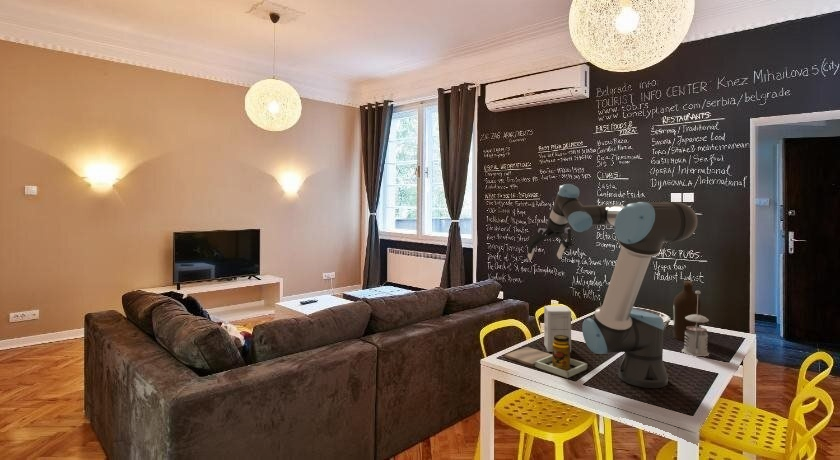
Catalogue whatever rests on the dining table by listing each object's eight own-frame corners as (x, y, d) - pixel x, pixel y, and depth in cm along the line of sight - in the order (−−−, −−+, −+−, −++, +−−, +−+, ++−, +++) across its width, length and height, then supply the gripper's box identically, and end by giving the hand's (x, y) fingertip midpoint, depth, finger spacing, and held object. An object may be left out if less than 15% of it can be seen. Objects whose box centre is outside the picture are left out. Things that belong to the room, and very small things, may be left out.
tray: (587, 368, 166) (587, 363, 166) (567, 378, 158) (567, 372, 158) (554, 358, 177) (555, 353, 177) (534, 366, 169) (534, 361, 169)
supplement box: (566, 345, 193) (567, 305, 191) (571, 352, 183) (572, 311, 182) (543, 344, 194) (543, 305, 192) (547, 352, 184) (547, 310, 183)
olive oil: (703, 338, 199) (705, 281, 197) (695, 344, 192) (697, 285, 190) (676, 333, 207) (678, 278, 205) (668, 338, 200) (670, 281, 198)
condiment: (553, 372, 164) (553, 339, 163) (548, 363, 172) (548, 332, 171) (574, 372, 163) (574, 339, 162) (568, 364, 172) (569, 332, 171)
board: (554, 357, 178) (554, 355, 178) (532, 366, 169) (532, 364, 169) (527, 349, 188) (527, 346, 188) (504, 357, 179) (504, 354, 179)
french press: (708, 350, 184) (710, 289, 182) (712, 360, 174) (715, 295, 172) (680, 347, 189) (682, 287, 187) (682, 356, 178) (685, 293, 176)
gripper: (583, 212, 190) (567, 250, 203) (526, 213, 185) (514, 252, 198) (591, 224, 184) (574, 262, 198) (532, 225, 179) (519, 264, 193)
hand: (543, 257), depth 198 cm, fingers open, 13 cm apart
